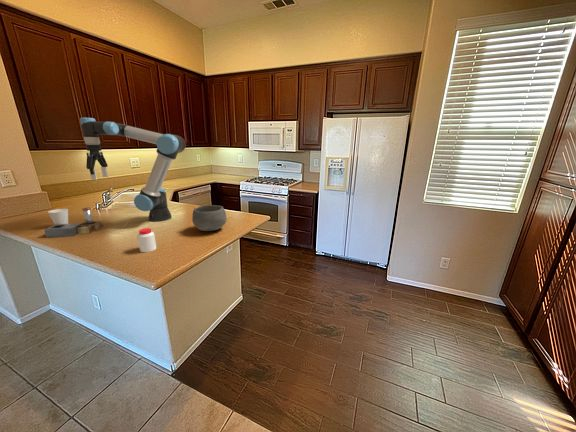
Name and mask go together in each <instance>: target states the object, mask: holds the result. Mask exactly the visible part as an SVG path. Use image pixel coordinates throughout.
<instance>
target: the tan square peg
mask: <svg viewBox="0 0 576 432" xmlns="http://www.w3.org/2000/svg"><path fill="white" fill-rule="evenodd" d="M76 231H77V235H81V234H83V235H84V234H91V233H92V232H93V231H92V227H91V225H89V226H87V227H77V228H76Z"/></svg>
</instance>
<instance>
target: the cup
mask: <svg viewBox="0 0 576 432" xmlns="http://www.w3.org/2000/svg"><path fill="white" fill-rule="evenodd" d="M47 213H48V215H49V217H50V218H51V221H52V222H53V223H54V224H53V225H56V224H69V209H68V208H57V209H52V210H48V211H47Z"/></svg>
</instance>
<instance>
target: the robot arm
mask: <svg viewBox="0 0 576 432" xmlns="http://www.w3.org/2000/svg"><path fill="white" fill-rule="evenodd" d="M79 120H80V121H79V122H80V126H81V131H82V134H83V140H84V144H85V148H86V149H85V150H86V151H87V152H86V164H85V165H86V170H89V174H90V178H91V179H90V180H92V181H95V180H96V181H97V180H98V177H97V172H96V168H95V165H96V162H98V164H99V165H100V166H101V167H100V169H101V174H102V178H107V177H108V175H109V174H108V170H107V168H108V163H107V161H106V158H105V157H104V153H103V151H102V145H101V140H100V136H99V135H103V136H105V135H106V136H107V135H109V136H121V137H124V138H128V139H133V140H138V141H141V142H146V143H150V144H154V145H156V147H157V148H156V150H155V151H156V154H157V156H156V158H155V161H154V164H153V166H152V169H151V171H150V174H149V177H148V178H147V182H146V184H145V186H143V187H141V190H140V191H139V194H137V195H136V196H135V197H134V198H133V204H134V206H135V207H136V209H138V210H139V211H140V212H148V211H149V212H148V220H149V221H150V222H163V221H168V220H170V219H172V213H171V212H170V211H171V210H169V207H168V201H167V192H166V188H164V187H163V188H162V186H163V183H164V180H165V178H166V176H167V173H168V171H169V168H170V166H171V163H172V161H174V160H176V159H177V156H178V155H179V153H182V152H184V151H185V149H186V144H187V143H186V141H185V139H184V138H183V137H182V136H180V135H178V134H172V133H164V134H163V133H161V132H156V131H152V130H147V129H143V128H139V127H135V126H131V125H127V124H124V123H116V122H115V121H96V119H95V118H93V117H80V119H79Z"/></svg>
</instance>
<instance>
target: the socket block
mask: <svg viewBox="0 0 576 432" xmlns="http://www.w3.org/2000/svg"><path fill="white" fill-rule="evenodd" d="M82 223H83V222H79V223H78V222H77V223H76V222H75V223H74V222H73V223H68V224H56V225H55V224H53V225H51V226H49V227H46V228H45V229H44V235H45V237H46V238H63V237H65V238H66V237H75V236H77V235H78V234H77V231H76V228H77V227H81V225H83V224H82Z"/></svg>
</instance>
